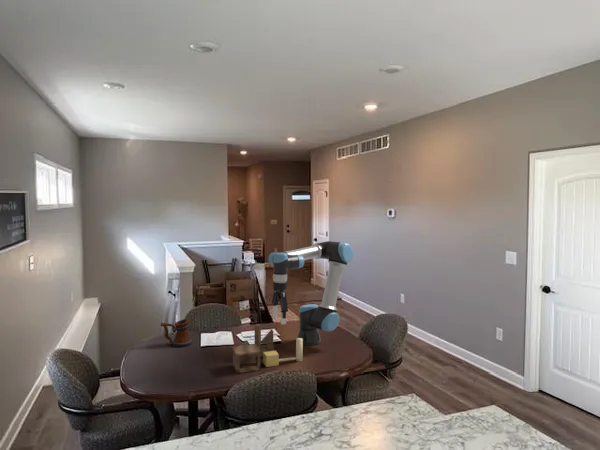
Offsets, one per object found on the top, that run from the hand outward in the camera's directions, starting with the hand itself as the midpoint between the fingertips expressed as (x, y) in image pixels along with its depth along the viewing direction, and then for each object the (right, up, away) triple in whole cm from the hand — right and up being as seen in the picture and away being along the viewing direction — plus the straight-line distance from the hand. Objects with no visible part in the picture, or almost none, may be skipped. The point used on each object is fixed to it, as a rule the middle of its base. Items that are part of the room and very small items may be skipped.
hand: (279, 320), depth 229 cm
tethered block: (+2, -23, +3) cm, 24 cm away
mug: (-64, -21, +29) cm, 74 cm away
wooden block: (-10, -23, +13) cm, 28 cm away
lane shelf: (-17, -24, -4) cm, 30 cm away
